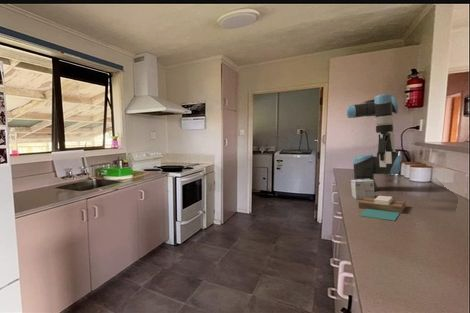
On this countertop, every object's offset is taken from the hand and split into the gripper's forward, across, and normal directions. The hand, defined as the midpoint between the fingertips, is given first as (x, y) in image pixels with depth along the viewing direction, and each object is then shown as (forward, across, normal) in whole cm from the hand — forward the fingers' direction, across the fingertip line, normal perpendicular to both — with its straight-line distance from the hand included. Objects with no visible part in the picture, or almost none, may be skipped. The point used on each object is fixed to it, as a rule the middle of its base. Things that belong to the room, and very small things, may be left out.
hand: (386, 165), depth 122 cm
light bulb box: (+21, -6, -14) cm, 26 cm away
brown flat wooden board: (+20, +9, -1) cm, 22 cm away
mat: (+20, +22, +1) cm, 30 cm away
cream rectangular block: (+17, +10, 0) cm, 20 cm away
